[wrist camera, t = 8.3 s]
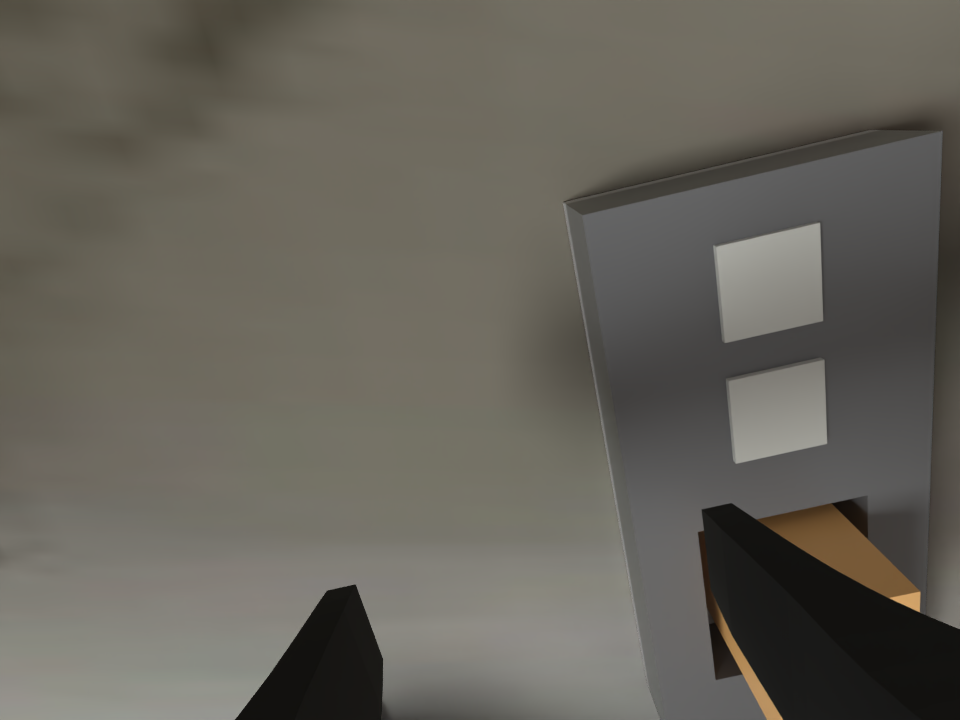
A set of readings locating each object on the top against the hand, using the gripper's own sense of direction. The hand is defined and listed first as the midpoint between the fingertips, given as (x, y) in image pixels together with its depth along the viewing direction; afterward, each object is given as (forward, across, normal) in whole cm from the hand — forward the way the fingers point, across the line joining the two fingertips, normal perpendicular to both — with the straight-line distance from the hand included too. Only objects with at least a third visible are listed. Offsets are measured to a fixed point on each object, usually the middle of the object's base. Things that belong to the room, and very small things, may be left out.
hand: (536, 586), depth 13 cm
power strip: (+9, -8, +4) cm, 13 cm away
